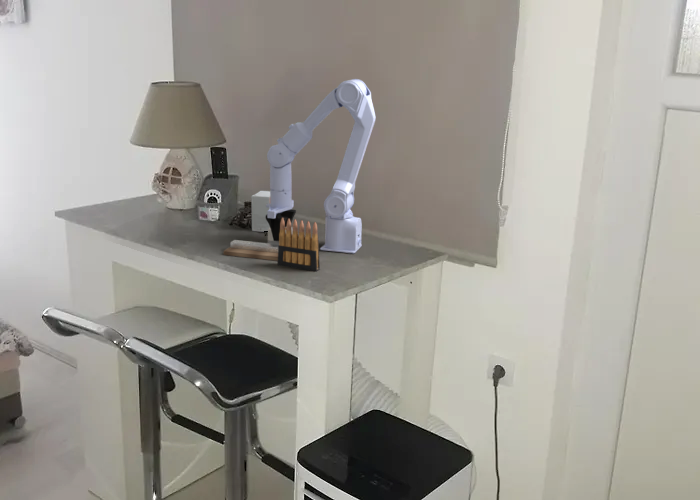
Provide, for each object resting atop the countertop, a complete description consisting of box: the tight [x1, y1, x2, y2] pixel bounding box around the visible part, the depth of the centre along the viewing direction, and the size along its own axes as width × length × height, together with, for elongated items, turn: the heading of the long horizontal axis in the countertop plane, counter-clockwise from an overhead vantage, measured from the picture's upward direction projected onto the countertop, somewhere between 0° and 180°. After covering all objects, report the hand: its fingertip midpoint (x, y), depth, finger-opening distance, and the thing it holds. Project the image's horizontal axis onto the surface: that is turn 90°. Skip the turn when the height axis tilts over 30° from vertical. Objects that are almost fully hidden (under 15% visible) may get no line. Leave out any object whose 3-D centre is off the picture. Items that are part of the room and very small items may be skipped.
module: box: [267, 226, 293, 244], centre depth 189 cm, size 6×4×4 cm
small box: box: [250, 190, 270, 233], centre depth 202 cm, size 8×6×10 cm
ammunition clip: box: [277, 218, 321, 272], centre depth 168 cm, size 11×2×12 cm, turn 66°
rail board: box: [222, 246, 278, 262], centre depth 179 cm, size 19×9×1 cm, turn 75°
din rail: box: [230, 239, 279, 253], centre depth 179 cm, size 18×2×2 cm, turn 75°
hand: (281, 238), depth 189 cm, fingers closed on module, 4 cm apart
